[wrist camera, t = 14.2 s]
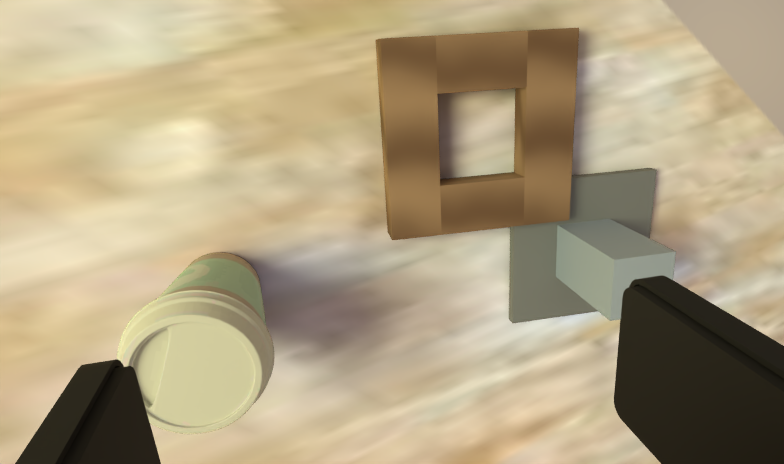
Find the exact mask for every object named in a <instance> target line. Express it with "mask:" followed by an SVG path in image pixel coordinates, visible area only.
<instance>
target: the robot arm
mask: <svg viewBox="0 0 784 464" xmlns="http://www.w3.org/2000/svg"><path fill="white" fill-rule="evenodd" d="M614 404H615V408H616V411H617V413H618V415H619V417H620V418H621V420H622V421H623V422H624V423H625V424H626V425H627V426H628V427H629V428H630V430H631V431H632V432H633V433H634V434H635V435H636V436H637V437H638V438H639V439H640V441H641V442H642V443H643V444H644V445H645V446H646V447H647V448H648V449H649V450H650V452H651V453H652V454H653V455H654V456H655V457H656V458H657V459H658V460H659V462H660V463H661V464H784V346H783V345H781V344H779V343H778V342H776V341H774V340H773V339H771V338H769V337H768V336H766V335H764V334H763V333H761V332H759V331H757V330H756V329H754V328H752V327H751V326H749V325H747V324H746V323H744V322H742V321H741V320H739V319H737V318H736V317H734V316H732V315H730V314H729V313H727V312H725V311H724V310H722V309H720V308H719V307H717V306H715V305H714V304H712V303H710V302H709V301H707V300H705V299H703V298H702V297H700V296H698V295H697V294H695V293H693V292H692V291H690V290H688V289H687V288H685V287H683V286H682V285H680V284H678V283H676V282H675V281H673V280H671V279H670V278H668V277H666V276H663V275H661V276H654V277H647V278H641V279H635V280H633V281H632V282H631V284H630V286H629V288H626V289H625V291H624V292H623V297H622V309H621V321H620V333H619V345H618V357H617V369H616V381H615V393H614ZM15 464H161V463H160V459H159V455H158V452H157V448H156V444H155V441H154V437H153V434H152V430H151V426H150V423H149V419H148V415H147V412H146V408H145V404H144V401H143V397H142V394H141V390H140V386H139V383H138V379H137V375H136V372H135V370H134V368H133V367H132V366H126V367H124V366H123V364H122V363H121V361H119V360H111V361H105V362H98V363H92V364H85V365H81V367H80V368H79V369H78V370H77V372H76V373H75V375H74V376H73V378H72V379H71V381H70V382H69V384H68V385H67V387H66V388H65V390H64V391H63V393H62V394H61V396H60V397H59V399H58V400H57V402H56V403H55V405H54V406H53V408H52V409H51V411H50V412H49V414H48V415H47V417H46V418H45V420H44V421H43V423H42V424H41V426H40V427H39V429H38V430H37V432H36V433H35V435H34V436H33V438H32V439H31V441H30V442H29V444H28V445H27V447H26V448H25V450H24V451H23V453H22V454H21V456H20V457H19V459H18V460H17V462H16V463H15Z"/></svg>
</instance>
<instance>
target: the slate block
mask: <svg viewBox="0 0 784 464" xmlns="http://www.w3.org/2000/svg"><path fill="white" fill-rule="evenodd" d="M675 256H676V251H674V250H672V249H670V248H668V247H666V246H664V245H662V244H660V243H658V242H656V241H654V240H651V239H649V238H647V237H645V236H643V235H641V234H639V233H637V232H635V231H633V230H631V229H629V228H627V227H625V226H623V225H621V224H619V223H617V222H615V221H613V220H611V219H602V220H594V221H586V222H578V223H570V224H562V225H558V226H557V255H556V277H557V278H558V279H559V280H561V281H562V282H563V283H564V284H565V285H567V286H568V287H569V288H570V289H572V290H573V291H574V292H575V293H577V294H578V295H579V296H580V297H581V298H583V299H584V300H585V301H586V302H588V303H589V304H590V305H591V306H592V307H594V308H595V309H596V310H597V311H599V312H600V313H601V314H602V315H603V316H605V317H606V318H607V319H608V320H610V321H612V320H619V319H621V309H622V297H623V292H624V291H625V289H626V288H629V286H630V284H631V282H632V281H633V280H635V279H641V278H647V277H654V276H661V275H663V276H666V277H668V278H670V279H671V280H673V274H674V265H675Z"/></svg>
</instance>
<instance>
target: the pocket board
mask: <svg viewBox="0 0 784 464" xmlns="http://www.w3.org/2000/svg"><path fill="white" fill-rule="evenodd" d="M578 38H579V28H566V29H548V30H530V31H512V32H494V33H476V34H457V35H439V36H421V37H403V38H385V39H378V40H376V52H377V68H378V84H379V99H380V115H381V131H382V147H383V163H384V179H385V194H386V210H387V226H388V233H389V235H390V237H391V239H392V240H399V239H408V238H416V237H425V236H434V235H443V234H452V233H461V232H469V231H478V230H487V229H496V228H505V227H514V226H522V225H531V224H540V223H549V222H558V221H566V220H569V215H570V195H571V176H572V156H573V136H574V117H575V97H576V77H577V58H578ZM510 88H516V90H515V153H514V172H512V173H501V174H491V175H481V176H470V177H460V178H450V179H440V163H439V129H438V95H437V94H441V93H455V92H468V91H482V90H496V89H510Z"/></svg>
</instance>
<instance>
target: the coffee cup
mask: <svg viewBox="0 0 784 464" xmlns="http://www.w3.org/2000/svg"><path fill="white" fill-rule="evenodd" d="M117 360H119V361H121V363H122V364H123V366H124V367H126V366H132V367H133V368H134V370H135V372H136V375H137V379H138V383H139V386H140V390H141V394H142V397H143V401H144V404H145V408H146V412H147V415H148V419H149V423H150V424H152V425H154V426H156V427H158V428H160V429H163V430H166V431H170V432H175V433H181V434H199V433H207V432H211V431H215V430H218V429H221V428H223V427H225V426H228V425H229V424H231V423H233V422H235V421H236V420H238V419H239V418H240V417H241V416H243V415H244V414H245V413H246V412H247V411H248V410H249V409H250V407H251V406H252V405H253V404H254V403H255V402H256V401H257V400H258V398H259V397H260V396H261V394H262V393H263V391H264V389H265V388H266V386H267V383H268V381H269V379H270V376H271V373H272V370H273V365H274V347H273V342H272V339H271V336H270V333H269V331H268V329H267V327H266V321H265V314H264V307H263V299H262V292H261V286H260V281H259V277H258V275H257V273H256V271H255V270H254V268H253V267H252V266H251V265H250V264H249V263H248V262H247V261H245V260H244V259H242V258H240V257H238V256H236V255H233V254H229V253H210V254H207V255H204V256H201V257H199V258H198V259H196V260H195V261H193V262H192V263H191V264H190V265H189V266H188V267H187V268H186V269H185V270H184V271H183V272H182V273H181V274H180V275H179V276H178V277H177V279H176V280H175V281H174V282H173V283H172V284H171V285H170V286H169V287H168V288H167V289H166V290H165V291H164V292H163V293H162V294H161V295H160V297H159V298H158V299H156V300H154V301H152V302H151V303H149V304H147V305H146V306H145V307H143V308H142V309H141V310H140V311H139V312H138V313H136V314H135V316H134V317H133V318H132V319H131V320H130V322H129V323H128V325H127V326H126V328H125V330H124V332H123V334H122V337H121V340H120V344H119V348H118V353H117Z"/></svg>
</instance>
